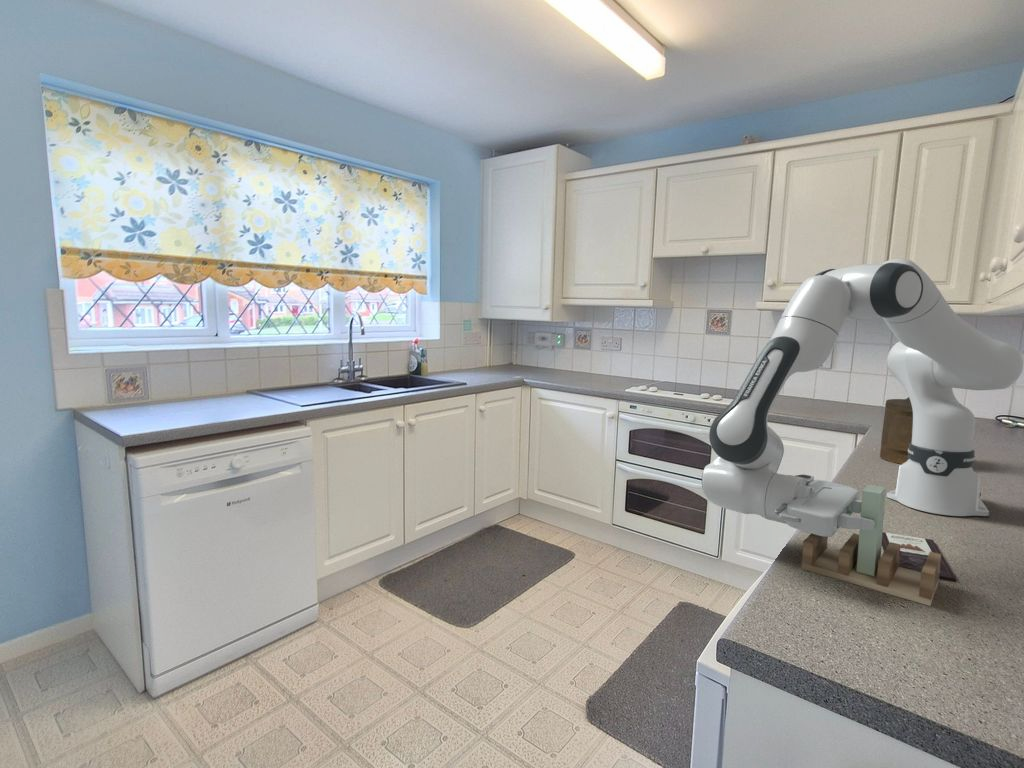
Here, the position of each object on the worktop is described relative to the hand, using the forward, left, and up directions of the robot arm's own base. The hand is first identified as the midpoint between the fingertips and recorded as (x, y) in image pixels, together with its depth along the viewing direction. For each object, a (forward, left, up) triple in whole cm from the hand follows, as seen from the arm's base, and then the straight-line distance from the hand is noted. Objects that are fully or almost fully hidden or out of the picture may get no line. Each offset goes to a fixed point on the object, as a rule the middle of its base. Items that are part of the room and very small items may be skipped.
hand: (879, 519), depth 90 cm
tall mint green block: (0, -1, -9) cm, 9 cm away
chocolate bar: (-15, +3, -11) cm, 19 cm away
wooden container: (-97, -8, -11) cm, 98 cm away
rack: (0, -1, -10) cm, 10 cm away
